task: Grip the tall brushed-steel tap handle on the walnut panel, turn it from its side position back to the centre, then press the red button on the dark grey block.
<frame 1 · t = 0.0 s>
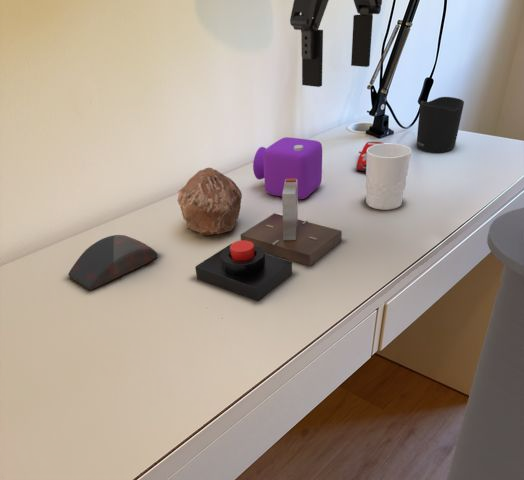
hand: (337, 75, 75), 25 cm above the table, tool pointing down, fingers open, 13 cm apart
race car: (371, 164, 118), on the table
toy camera: (286, 191, 109), on the table
white cup: (383, 203, 102), on the table
button block: (244, 276, 82), on the table
tap handle: (290, 209, 86), point 6 cm above the table, hinge at -60.0°
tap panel: (291, 243, 90), on the table
decorative rock: (213, 227, 97), on the table
button: (242, 250, 80), point 4 cm above the table, slide at 0.1 cm
pen holder: (435, 148, 125), on the table
computer mouse: (115, 268, 87), on the table
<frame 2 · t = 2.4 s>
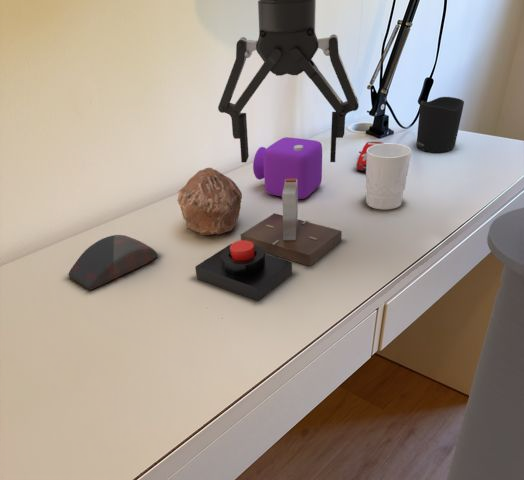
hand: (288, 159, 81), 14 cm above the table, tool pointing down, fingers open, 13 cm apart
nothing on the table moved.
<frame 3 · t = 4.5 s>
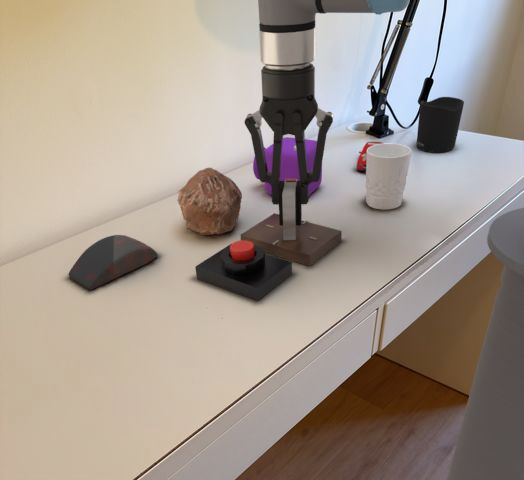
hand: (290, 221, 88), 4 cm above the table, tool pointing down, fingers closed on tap handle, 2 cm apart
tap handle: (290, 209, 86), point 6 cm above the table, hinge at -60.0°, touching gripper
everything else where it was.
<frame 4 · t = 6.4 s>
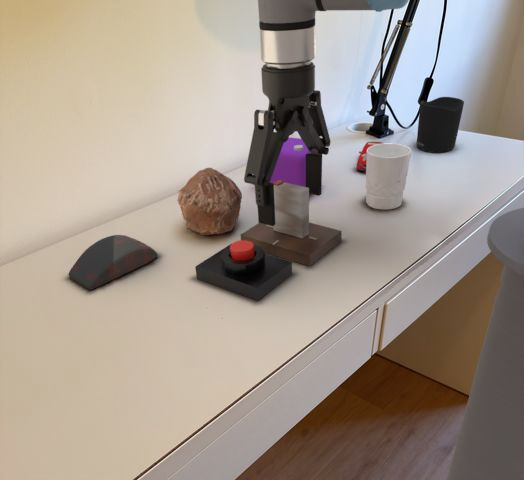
hand: (291, 207, 86), 6 cm above the table, tool pointing down, fingers open, 13 cm apart
tap handle: (290, 209, 86), point 6 cm above the table, hinge at -0.5°
everything else where it was.
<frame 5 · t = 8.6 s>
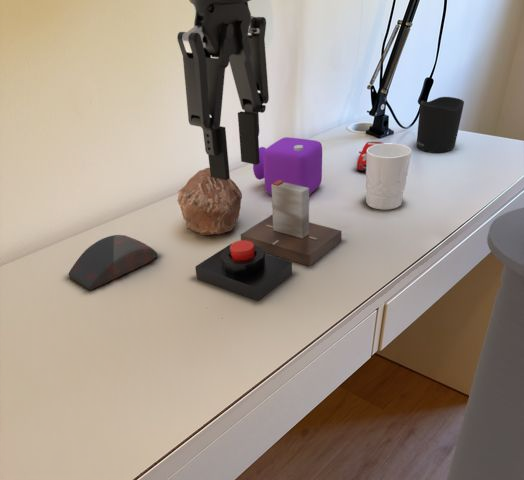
hand: (235, 169, 72), 17 cm above the table, tool pointing down, fingers open, 6 cm apart
nothing on the table moved.
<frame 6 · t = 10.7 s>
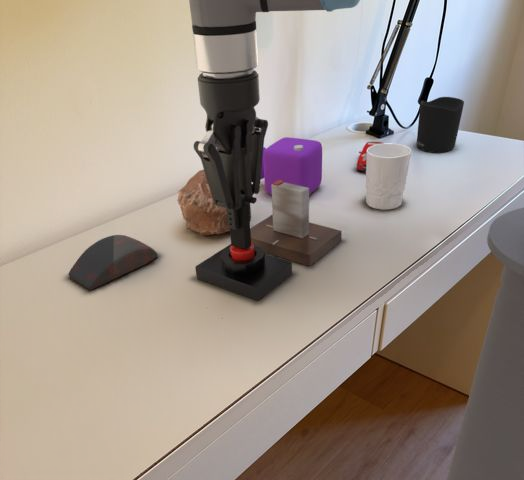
hand: (241, 245, 79), 5 cm above the table, tool pointing down, fingers closed
button: (242, 252, 80), point 4 cm above the table, slide at -0.1 cm, touching gripper
everything else where it was.
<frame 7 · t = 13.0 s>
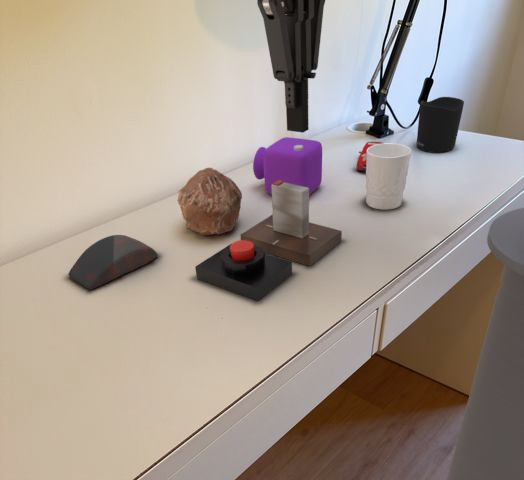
hand: (297, 129, 76), 20 cm above the table, tool pointing down, fingers closed
button: (242, 250, 80), point 4 cm above the table, slide at 0.1 cm
everything else where it was.
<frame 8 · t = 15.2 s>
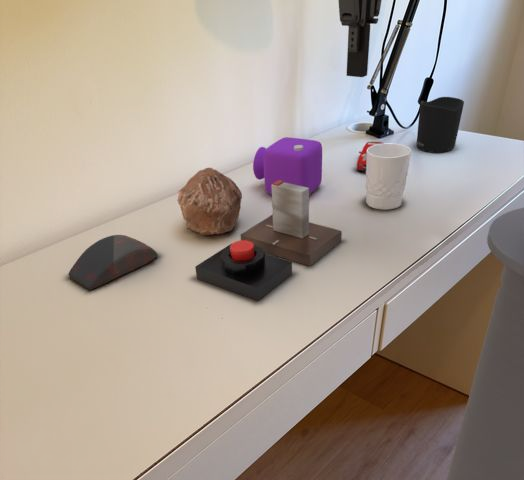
hand: (356, 75, 79), 24 cm above the table, tool pointing down, fingers closed
nothing on the table moved.
at the end: tap handle at +0° (first picture: -60°); button pushed in 1.0 cm at the most during the clip, back to where it started at the end; button slide at 0.1 cm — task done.
